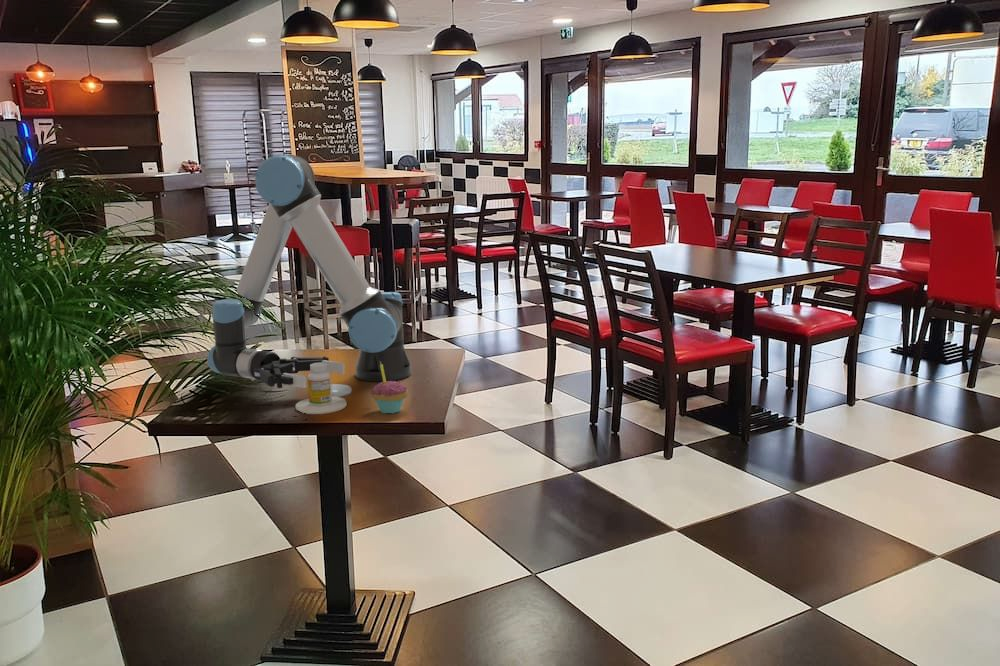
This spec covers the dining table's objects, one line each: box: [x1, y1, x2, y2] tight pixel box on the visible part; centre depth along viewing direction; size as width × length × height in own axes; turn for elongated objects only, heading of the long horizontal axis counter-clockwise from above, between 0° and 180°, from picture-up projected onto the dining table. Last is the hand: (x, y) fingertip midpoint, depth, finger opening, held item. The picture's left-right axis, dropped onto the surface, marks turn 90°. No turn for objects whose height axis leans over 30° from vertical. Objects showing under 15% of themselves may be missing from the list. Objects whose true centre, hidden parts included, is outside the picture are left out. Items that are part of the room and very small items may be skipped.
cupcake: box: [370, 362, 409, 414], centre depth 191 cm, size 9×8×12 cm
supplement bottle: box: [307, 362, 332, 406], centre depth 195 cm, size 5×5×10 cm
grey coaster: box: [331, 383, 352, 398], centre depth 207 cm, size 10×10×1 cm
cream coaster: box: [295, 396, 347, 415], centre depth 196 cm, size 12×12×1 cm
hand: (325, 375), depth 193 cm, fingers open, 13 cm apart
